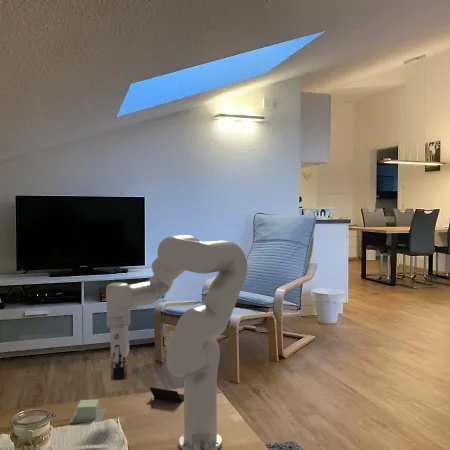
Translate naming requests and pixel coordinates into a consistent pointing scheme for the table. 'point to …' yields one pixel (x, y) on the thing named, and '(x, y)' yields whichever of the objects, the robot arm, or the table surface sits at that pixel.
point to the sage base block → (88, 409)
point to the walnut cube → (126, 370)
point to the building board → (99, 418)
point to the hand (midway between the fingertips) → (120, 375)
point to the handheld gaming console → (167, 395)
